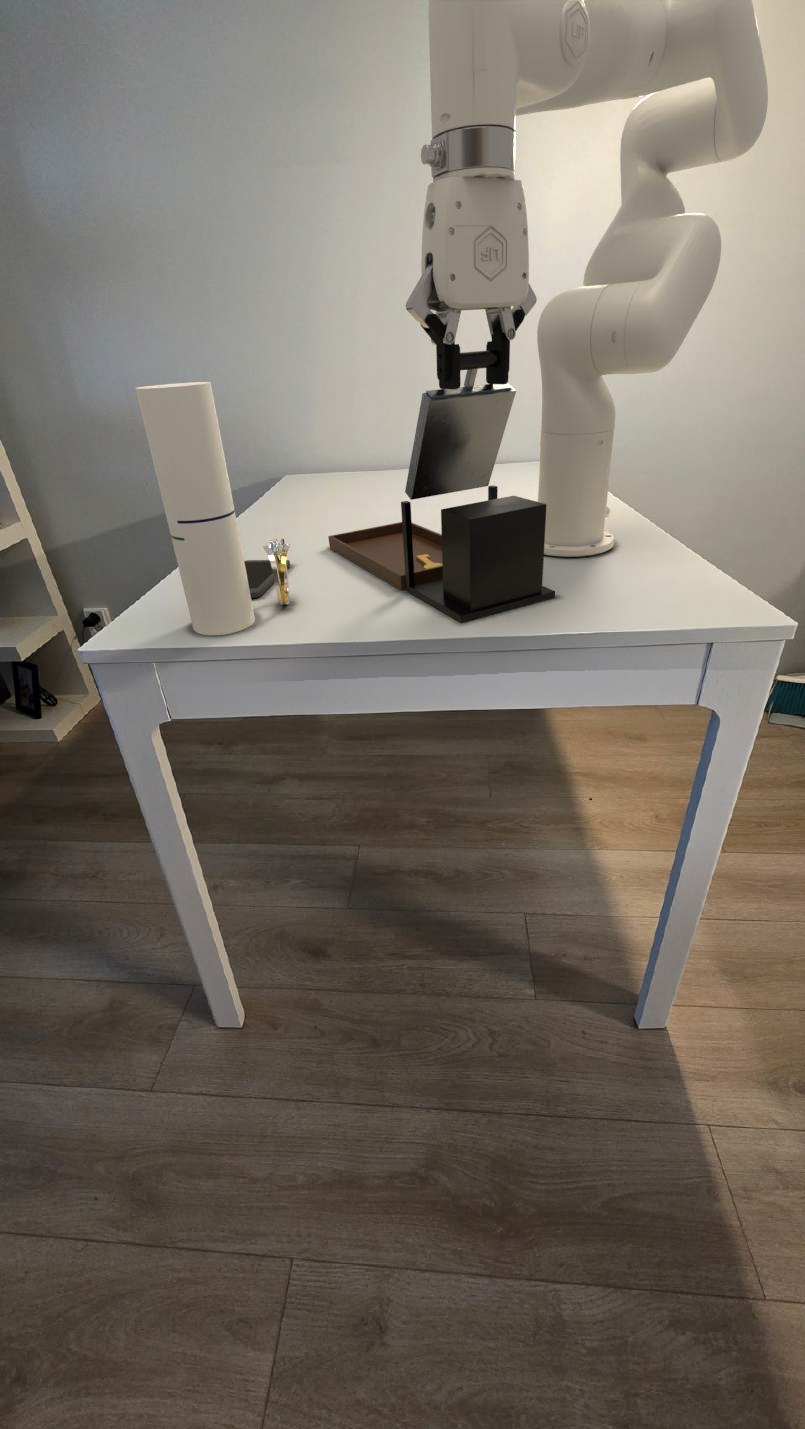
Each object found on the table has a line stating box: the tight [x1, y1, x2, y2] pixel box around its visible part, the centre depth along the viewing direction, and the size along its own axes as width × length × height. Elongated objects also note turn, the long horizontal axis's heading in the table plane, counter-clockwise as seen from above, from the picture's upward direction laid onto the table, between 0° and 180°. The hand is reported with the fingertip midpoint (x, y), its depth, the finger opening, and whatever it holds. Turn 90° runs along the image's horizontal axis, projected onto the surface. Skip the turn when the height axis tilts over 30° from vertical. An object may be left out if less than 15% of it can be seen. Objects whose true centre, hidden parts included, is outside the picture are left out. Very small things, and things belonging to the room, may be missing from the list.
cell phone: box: [244, 559, 291, 598], centre depth 88 cm, size 7×14×1 cm, turn 171°
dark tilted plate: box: [404, 350, 517, 501], centre depth 72 cm, size 16×11×2 cm
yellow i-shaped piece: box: [416, 554, 442, 569], centre depth 89 cm, size 7×3×1 cm, turn 20°
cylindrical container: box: [135, 381, 256, 636], centre depth 69 cm, size 7×7×25 cm
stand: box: [400, 484, 556, 624], centre depth 76 cm, size 13×13×11 cm
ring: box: [262, 538, 291, 606], centre depth 78 cm, size 7×3×8 cm, turn 3°
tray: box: [327, 521, 443, 591], centre depth 93 cm, size 24×14×2 cm, turn 28°
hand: (473, 384), depth 68 cm, fingers closed on dark tilted plate, 5 cm apart
